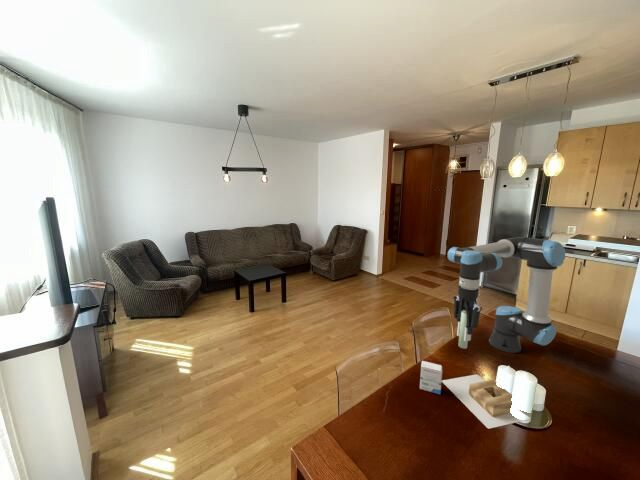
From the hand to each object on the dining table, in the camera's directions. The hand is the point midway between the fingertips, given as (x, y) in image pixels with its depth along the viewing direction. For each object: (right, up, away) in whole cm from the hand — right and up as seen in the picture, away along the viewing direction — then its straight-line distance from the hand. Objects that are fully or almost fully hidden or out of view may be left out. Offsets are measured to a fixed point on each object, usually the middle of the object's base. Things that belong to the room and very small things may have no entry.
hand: (463, 337), depth 115 cm
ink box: (-14, -24, +2) cm, 28 cm away
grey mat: (+6, -25, -4) cm, 26 cm away
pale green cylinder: (0, -4, +1) cm, 4 cm away
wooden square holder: (+8, -25, -6) cm, 27 cm away
